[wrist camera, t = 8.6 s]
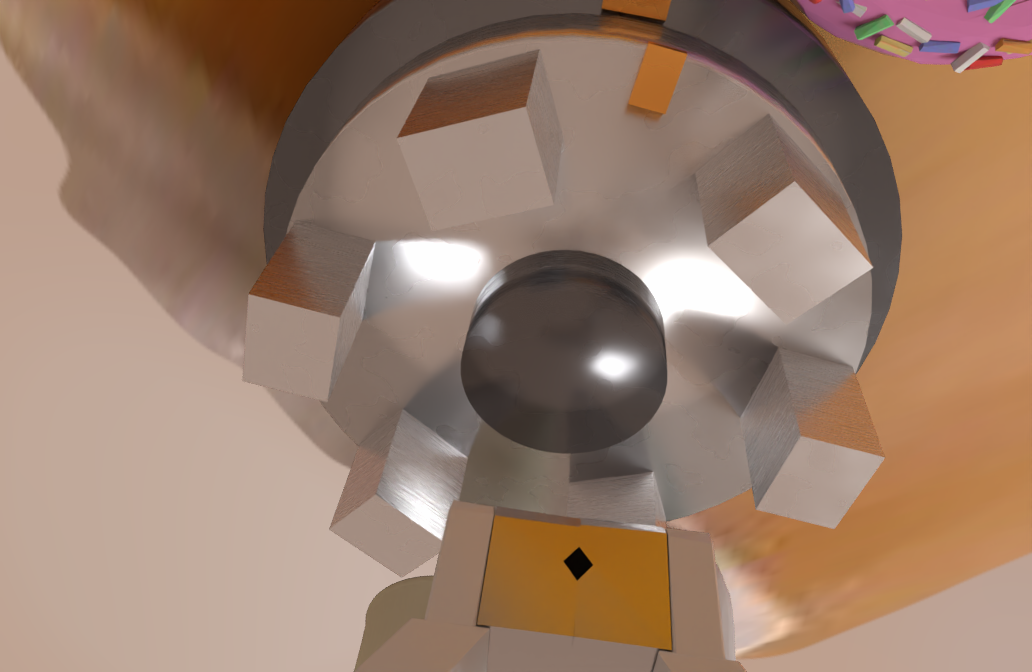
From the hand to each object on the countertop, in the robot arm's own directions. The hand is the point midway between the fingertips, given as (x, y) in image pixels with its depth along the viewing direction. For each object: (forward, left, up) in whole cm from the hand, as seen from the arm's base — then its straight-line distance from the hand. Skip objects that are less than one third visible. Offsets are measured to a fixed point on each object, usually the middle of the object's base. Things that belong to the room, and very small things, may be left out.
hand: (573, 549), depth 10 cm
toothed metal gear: (+8, +1, -17) cm, 19 cm away
